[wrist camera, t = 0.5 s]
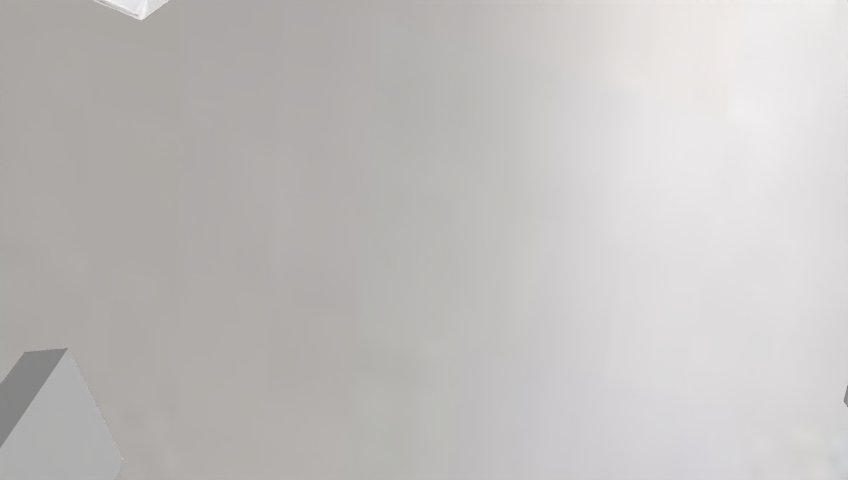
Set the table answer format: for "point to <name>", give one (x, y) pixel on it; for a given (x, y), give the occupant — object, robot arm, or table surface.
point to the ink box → (134, 6)
